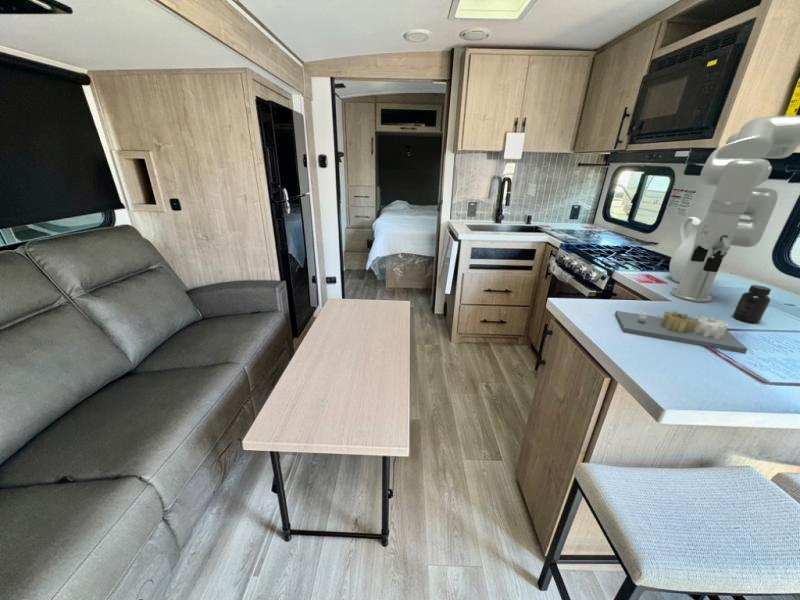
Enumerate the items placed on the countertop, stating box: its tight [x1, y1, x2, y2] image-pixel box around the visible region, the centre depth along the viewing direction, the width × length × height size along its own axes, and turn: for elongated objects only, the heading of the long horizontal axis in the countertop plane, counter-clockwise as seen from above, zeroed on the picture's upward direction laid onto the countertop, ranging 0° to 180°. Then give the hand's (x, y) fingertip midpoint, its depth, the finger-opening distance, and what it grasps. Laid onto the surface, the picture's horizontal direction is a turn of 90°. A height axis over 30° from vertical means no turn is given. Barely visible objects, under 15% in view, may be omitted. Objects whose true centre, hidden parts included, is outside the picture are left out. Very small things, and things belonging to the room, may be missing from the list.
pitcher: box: [669, 216, 723, 284], centre depth 146 cm, size 24×17×28 cm
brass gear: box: [660, 310, 695, 333], centre depth 102 cm, size 8×8×4 cm
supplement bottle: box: [732, 284, 772, 324], centre depth 111 cm, size 7×7×12 cm
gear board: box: [614, 310, 748, 354], centre depth 103 cm, size 14×30×6 cm, turn 68°
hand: (703, 266), depth 99 cm, fingers open, 9 cm apart
